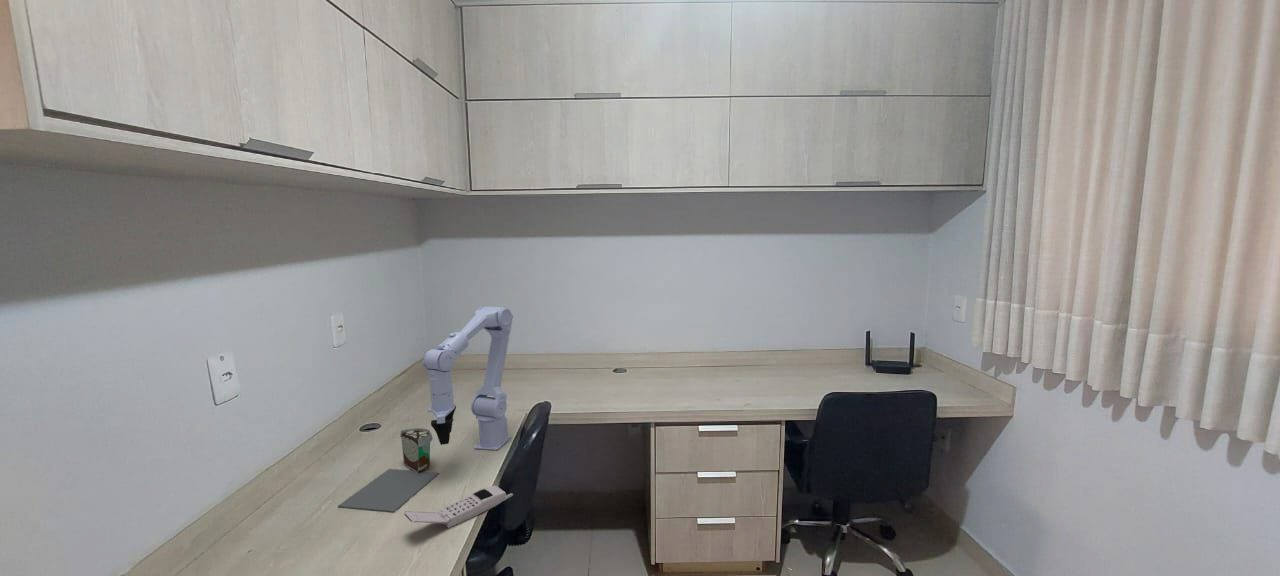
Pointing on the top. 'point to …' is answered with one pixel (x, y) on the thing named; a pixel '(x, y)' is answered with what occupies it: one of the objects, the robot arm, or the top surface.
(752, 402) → the top surface
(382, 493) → the charcoal mat
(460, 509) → the mobile phone
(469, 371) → the top surface
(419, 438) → the food container
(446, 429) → the robot arm
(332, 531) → the top surface
